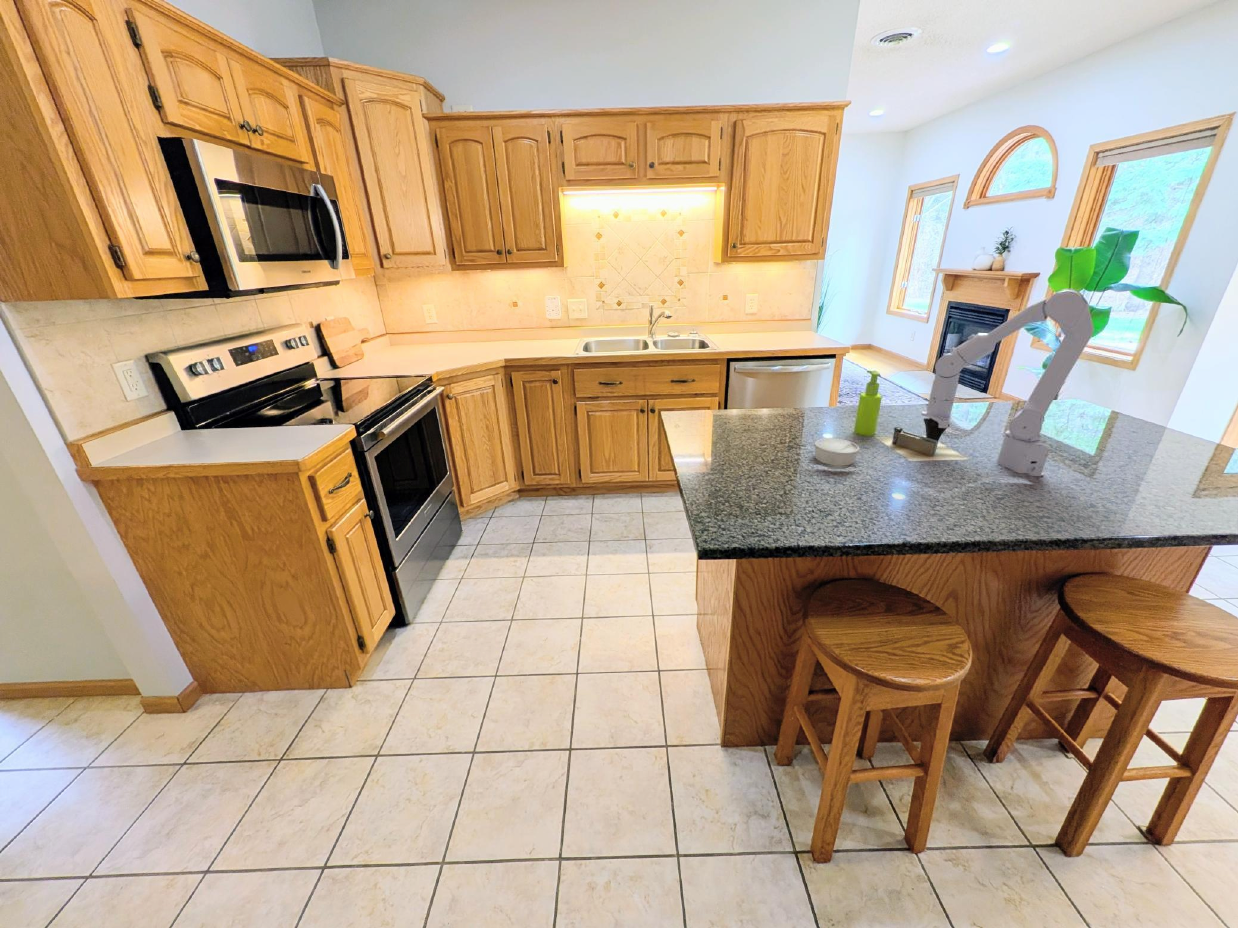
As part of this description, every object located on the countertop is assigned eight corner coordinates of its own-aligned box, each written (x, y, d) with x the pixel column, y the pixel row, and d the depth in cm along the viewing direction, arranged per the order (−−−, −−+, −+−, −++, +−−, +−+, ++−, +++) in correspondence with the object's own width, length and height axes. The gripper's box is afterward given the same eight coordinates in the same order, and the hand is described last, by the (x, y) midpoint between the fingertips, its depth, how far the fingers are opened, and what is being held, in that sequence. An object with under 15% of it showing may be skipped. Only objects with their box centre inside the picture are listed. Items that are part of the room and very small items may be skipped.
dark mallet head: (888, 443, 145) (892, 428, 143) (894, 441, 146) (897, 426, 144) (929, 456, 135) (933, 440, 133) (935, 455, 136) (939, 439, 134)
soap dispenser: (868, 431, 158) (880, 369, 150) (877, 439, 152) (889, 374, 144) (849, 431, 159) (860, 369, 151) (857, 439, 152) (868, 374, 145)
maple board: (968, 463, 133) (969, 459, 133) (909, 464, 133) (910, 460, 133) (926, 439, 151) (927, 435, 150) (874, 440, 151) (874, 437, 150)
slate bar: (900, 444, 144) (903, 431, 142) (902, 443, 144) (904, 430, 143) (933, 455, 135) (936, 441, 134) (935, 455, 136) (938, 441, 134)
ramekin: (860, 472, 130) (864, 453, 128) (815, 469, 132) (818, 451, 130) (851, 456, 140) (854, 438, 138) (809, 454, 142) (811, 437, 140)
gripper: (919, 390, 143) (910, 435, 148) (931, 404, 130) (920, 452, 136) (947, 392, 141) (937, 437, 146) (962, 405, 128) (949, 454, 133)
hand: (930, 444), depth 141 cm, fingers closed
